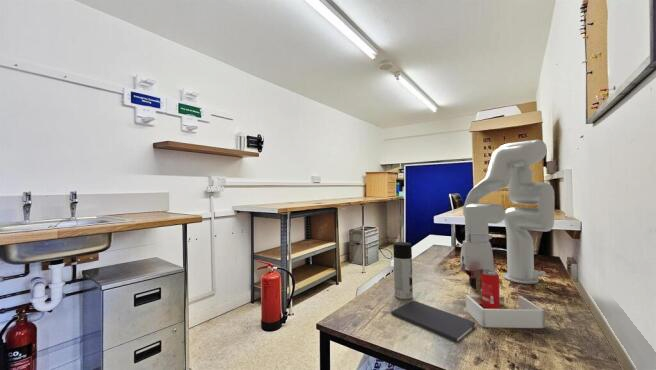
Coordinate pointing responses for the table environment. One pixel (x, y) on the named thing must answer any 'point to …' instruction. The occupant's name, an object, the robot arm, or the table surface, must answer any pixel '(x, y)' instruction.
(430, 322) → the notebook
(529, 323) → the box
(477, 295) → the wooden block structure
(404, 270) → the spray can
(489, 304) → the beverage can
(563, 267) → the table surface
